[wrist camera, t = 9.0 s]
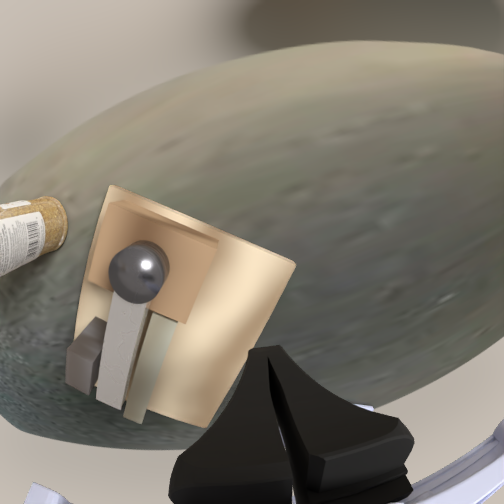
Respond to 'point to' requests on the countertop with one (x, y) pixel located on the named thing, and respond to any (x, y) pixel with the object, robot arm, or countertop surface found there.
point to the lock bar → (128, 314)
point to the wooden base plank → (177, 309)
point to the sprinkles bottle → (30, 231)
